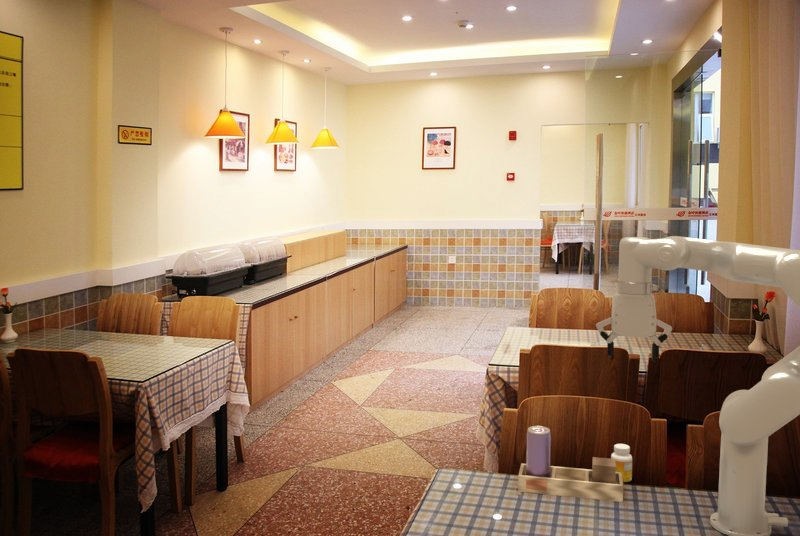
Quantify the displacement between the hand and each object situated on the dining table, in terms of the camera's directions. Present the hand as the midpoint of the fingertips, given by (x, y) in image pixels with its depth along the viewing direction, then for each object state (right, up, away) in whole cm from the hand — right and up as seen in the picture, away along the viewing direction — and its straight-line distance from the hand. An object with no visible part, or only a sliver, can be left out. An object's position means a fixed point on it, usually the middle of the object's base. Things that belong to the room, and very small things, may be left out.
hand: (632, 359), depth 170 cm
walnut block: (-5, -35, +9) cm, 36 cm away
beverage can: (-20, -34, +13) cm, 42 cm away
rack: (-13, -35, +11) cm, 39 cm away
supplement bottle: (+3, -35, +18) cm, 39 cm away
